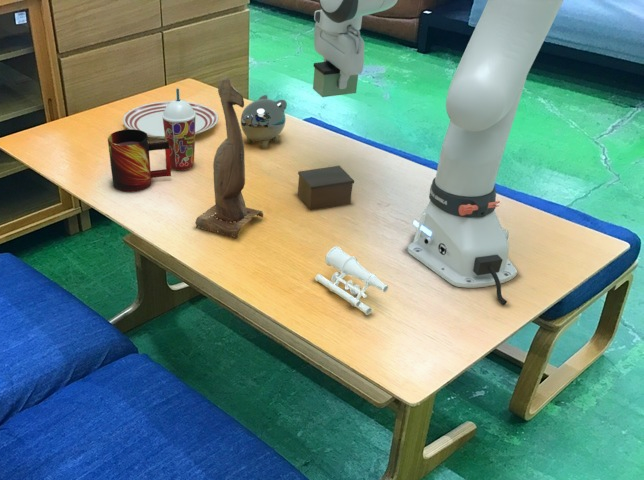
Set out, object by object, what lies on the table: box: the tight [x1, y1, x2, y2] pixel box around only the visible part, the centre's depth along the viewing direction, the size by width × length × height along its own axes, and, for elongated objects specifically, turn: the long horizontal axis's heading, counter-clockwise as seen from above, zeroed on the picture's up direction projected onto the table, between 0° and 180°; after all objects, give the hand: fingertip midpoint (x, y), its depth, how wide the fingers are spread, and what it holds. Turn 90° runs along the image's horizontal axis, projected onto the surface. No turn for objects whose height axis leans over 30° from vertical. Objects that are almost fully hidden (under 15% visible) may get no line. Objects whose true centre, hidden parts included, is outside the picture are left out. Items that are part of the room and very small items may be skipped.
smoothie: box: [162, 88, 196, 172], centre depth 170 cm, size 8×8×20 cm
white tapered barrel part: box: [314, 245, 389, 316], centre depth 128 cm, size 8×14×5 cm
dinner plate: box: [122, 100, 219, 140], centre depth 195 cm, size 27×27×3 cm
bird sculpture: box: [194, 77, 264, 239], centre depth 142 cm, size 11×12×32 cm
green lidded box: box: [312, 61, 359, 98], centre depth 159 cm, size 6×9×6 cm
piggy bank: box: [240, 94, 288, 149], centre depth 183 cm, size 11×15×12 cm
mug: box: [107, 128, 172, 193], centre depth 166 cm, size 10×14×12 cm
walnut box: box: [297, 165, 355, 211], centre depth 158 cm, size 8×10×6 cm
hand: (335, 82), depth 159 cm, fingers closed on green lidded box, 6 cm apart
